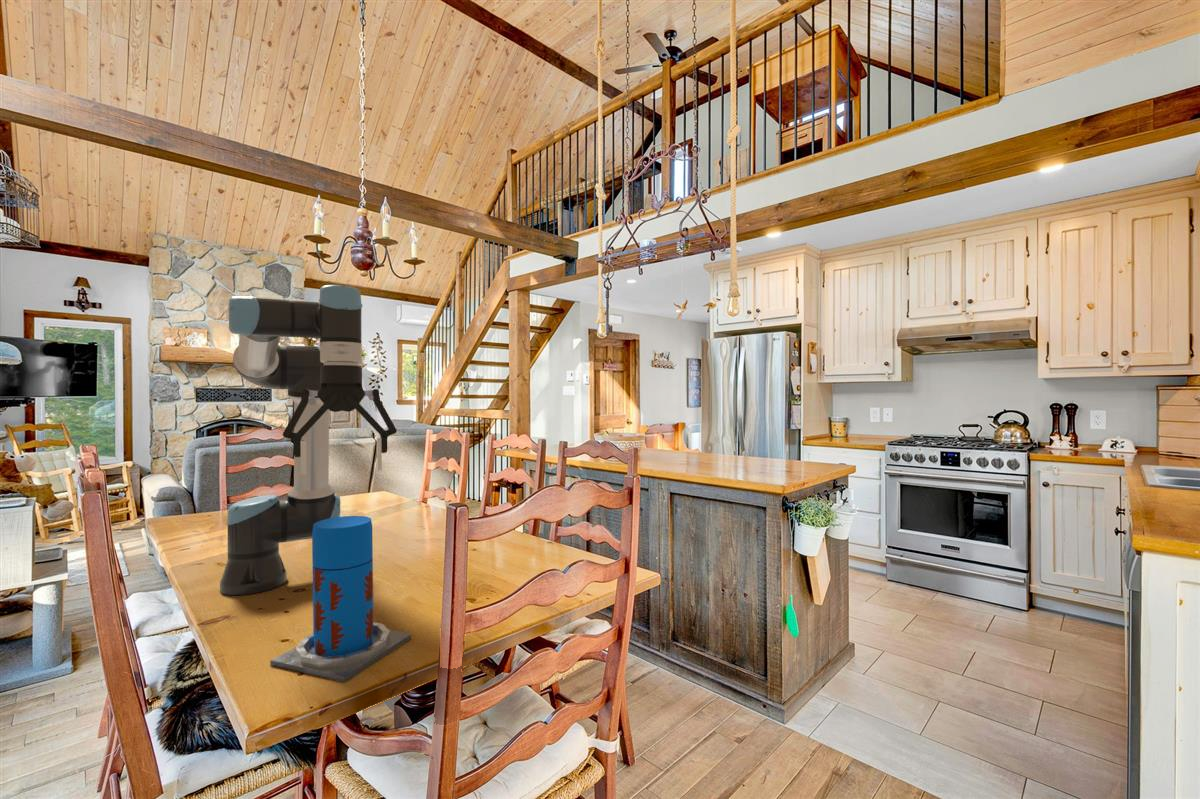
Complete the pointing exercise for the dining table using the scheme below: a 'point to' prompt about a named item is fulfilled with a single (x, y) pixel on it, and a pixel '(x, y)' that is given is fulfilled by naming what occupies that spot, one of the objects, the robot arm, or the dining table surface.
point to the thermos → (342, 585)
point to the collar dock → (339, 671)
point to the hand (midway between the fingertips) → (342, 471)
